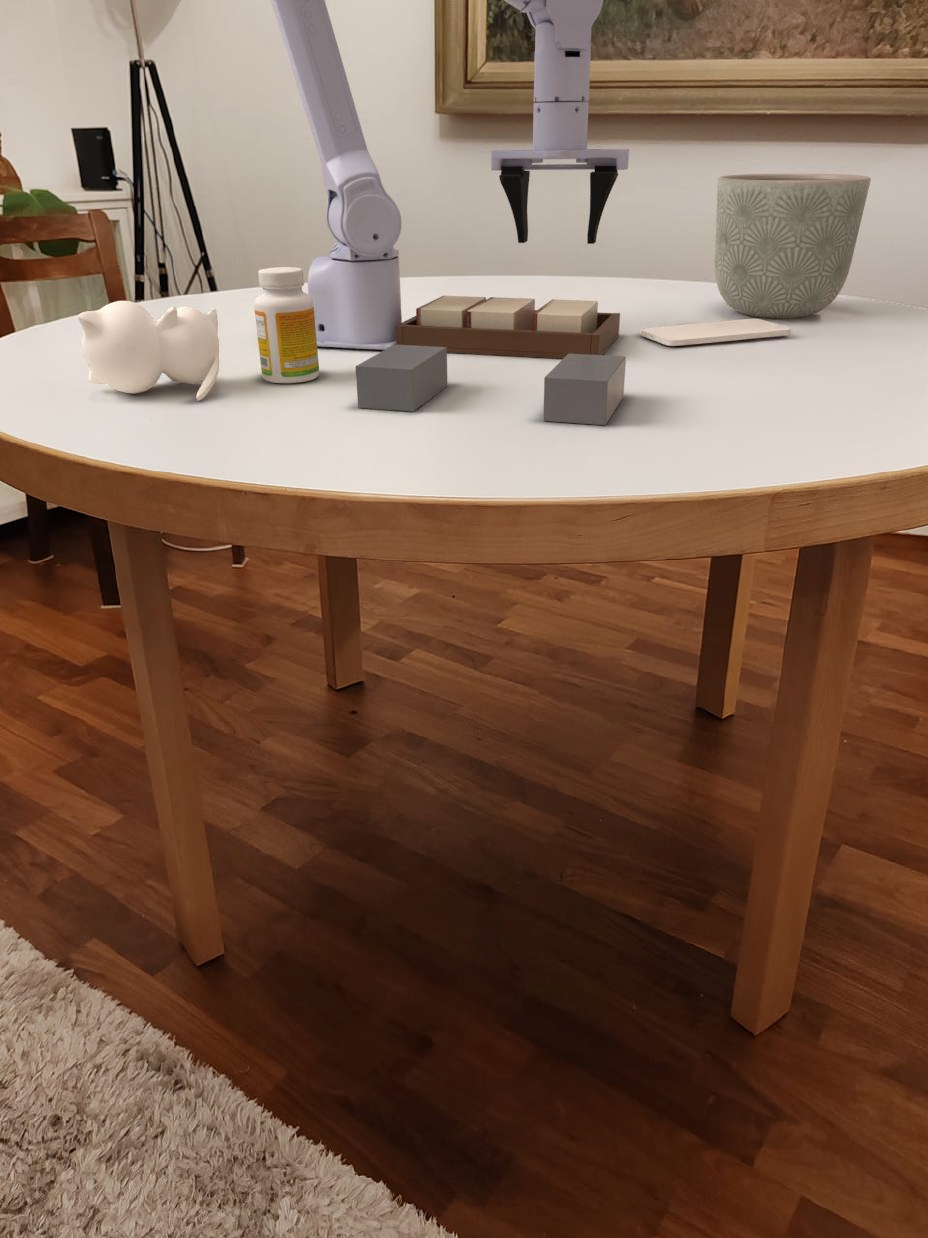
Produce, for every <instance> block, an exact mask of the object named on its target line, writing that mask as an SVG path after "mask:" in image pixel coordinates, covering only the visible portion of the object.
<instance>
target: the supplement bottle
mask: <svg viewBox="0 0 928 1238" xmlns="http://www.w3.org/2000/svg"><path fill="white" fill-rule="evenodd" d="M257 274H258V284H259V287H260V288H261V289H262V293H261V294H259V295H257V296H256V298H255V299H254V302H253V303H254V304H253V306H254V316H255V324H256V325H255V326H256V335H257V343H258V352H259V361H260V369H261V376H262V378H263V380H265V381H266V382H268V383H272V384H297V383H304V382H310V381H313V380H315V379H316V378H318V377H319V374H320V364H319V362H320V361H319V354H318V352H319V351H318V346H317V339H316V328H315V316H314V305H313V300H312V298H311V296H310V295H308V292H304V291H303V286H304V285H305V278H304V270H303V268H301V267H295V266H280V267H279V266H278V267H267V268H261V269H259V270H258V273H257Z"/></svg>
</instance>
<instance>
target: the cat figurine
mask: <svg viewBox="0 0 928 1238" xmlns="http://www.w3.org/2000/svg"><path fill="white" fill-rule="evenodd" d="M77 317H78V320H79V322H80V325H81V328H82V330H83V331H82V334H81V339H80V340H81V341H80V348H81V353H82V357H83V359H84V362H85V363H86V365H87V367H88V382H90V383H91V384H95V385H106V386H108V387H110V388H112V389H113V390H116V391H119V392H122V393H124V394H132V395H133V394H141V393H145V392H147V391H149V390H150V389H152V388H153V387H154V385H156V384H157V382H158V381H159V379H160V378H161V375H162V374H164V375H165V376H166V377H167V378H168V379H169V380H171V381H172V382H173V383H176V384H180V383H181V382H182V383H185V384H190V385H196V384H200V383H201V385H200V386H199V389H198V390H197V393H196V395H195V398H196V401H202V400H203V399H204V398H205V397H206V396H207V395H208V393H209V392H210V391H211V389H212V388H213V386H214V385H215V382H216V381H217V377H218V373H219V371H220V340H219V320H218V319H219V318H218V312H217V309H216V308H212V309H211V310H209V311H208V312H206V313H205V312H202V311H200V310H199V309H197V308H194V307H192V306H180V307H176V306H171V307H169V308H168V309H167V310H166V311H165V312H164V313H163V315H162V316H160V317H159V318H158V319H157V320H156V319H155V318H154V316H153V315H152V314H151V313H150V312H149V311H148V310H147V309H145V307H143V306H141V305H140V304H139V303H136V302H133V301H129V300H116V301H113V302H110V303H107V304H106V305H104V306H102V307H101V308H100V309H98V310H86V311H82V312H81V313H79V314H78V316H77Z"/></svg>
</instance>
